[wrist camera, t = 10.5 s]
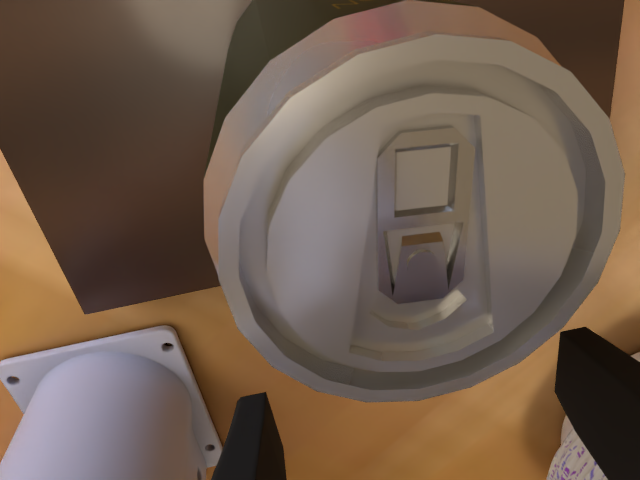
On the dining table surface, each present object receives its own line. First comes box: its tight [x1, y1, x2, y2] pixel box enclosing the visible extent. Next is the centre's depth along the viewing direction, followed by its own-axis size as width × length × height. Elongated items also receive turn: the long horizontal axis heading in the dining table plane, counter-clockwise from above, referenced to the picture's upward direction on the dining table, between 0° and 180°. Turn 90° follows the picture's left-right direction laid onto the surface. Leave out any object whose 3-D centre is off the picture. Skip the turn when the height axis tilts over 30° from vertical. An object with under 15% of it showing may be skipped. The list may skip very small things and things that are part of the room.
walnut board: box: [0, 0, 624, 314], centre depth 17 cm, size 15×21×2 cm
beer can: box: [203, 0, 625, 402], centre depth 11 cm, size 5×5×12 cm
